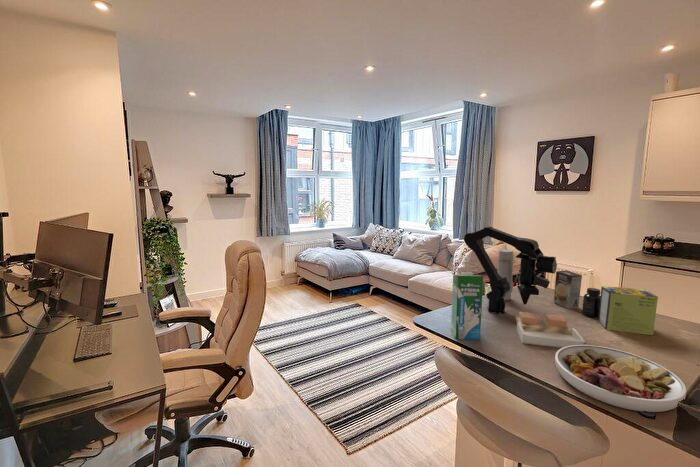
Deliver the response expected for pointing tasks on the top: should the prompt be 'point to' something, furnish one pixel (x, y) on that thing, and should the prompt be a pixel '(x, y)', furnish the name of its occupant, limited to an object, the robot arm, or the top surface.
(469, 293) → the milk carton
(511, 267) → the water bottle
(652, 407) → the bowl
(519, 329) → the tray
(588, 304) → the supplement bottle
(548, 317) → the tile
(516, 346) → the top surface
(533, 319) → the tile
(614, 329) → the protein box
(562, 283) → the coffee box
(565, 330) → the oak board
